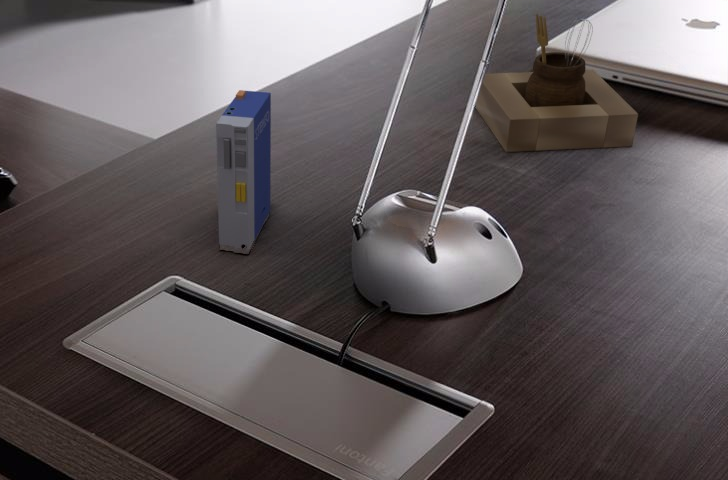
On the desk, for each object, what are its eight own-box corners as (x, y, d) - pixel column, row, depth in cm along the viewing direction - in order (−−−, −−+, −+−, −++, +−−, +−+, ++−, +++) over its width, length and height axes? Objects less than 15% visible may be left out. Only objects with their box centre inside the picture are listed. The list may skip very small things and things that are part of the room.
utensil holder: (591, 129, 114) (611, 15, 107) (540, 139, 112) (557, 23, 105) (557, 110, 118) (574, -1, 112) (508, 118, 117) (523, 7, 110)
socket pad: (587, 99, 121) (592, 69, 119) (632, 146, 110) (638, 113, 108) (472, 104, 120) (476, 74, 118) (505, 152, 109) (510, 119, 107)
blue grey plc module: (241, 211, 99) (239, 86, 93) (270, 215, 99) (271, 88, 92) (217, 252, 93) (213, 120, 86) (248, 256, 92) (247, 123, 86)
